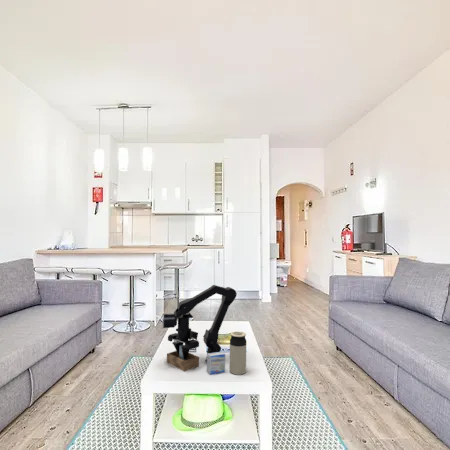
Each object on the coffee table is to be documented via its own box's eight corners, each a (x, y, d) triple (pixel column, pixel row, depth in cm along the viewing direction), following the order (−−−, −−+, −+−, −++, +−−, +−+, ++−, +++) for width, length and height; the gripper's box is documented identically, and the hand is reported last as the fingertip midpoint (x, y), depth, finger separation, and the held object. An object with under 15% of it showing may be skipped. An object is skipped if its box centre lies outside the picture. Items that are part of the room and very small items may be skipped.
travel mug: (231, 375, 146) (232, 336, 147) (227, 368, 154) (228, 331, 154) (248, 374, 148) (248, 335, 148) (243, 367, 155) (243, 330, 156)
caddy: (198, 366, 156) (199, 356, 156) (184, 371, 150) (184, 361, 150) (180, 357, 166) (181, 349, 167) (166, 362, 160) (166, 353, 160)
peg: (187, 362, 158) (187, 345, 159) (181, 364, 156) (182, 347, 156) (183, 360, 161) (183, 344, 161) (177, 361, 158) (177, 345, 158)
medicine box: (209, 375, 146) (210, 356, 147) (206, 371, 150) (206, 353, 151) (225, 372, 149) (225, 354, 150) (221, 368, 153) (221, 350, 154)
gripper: (207, 327, 158) (206, 358, 158) (184, 320, 171) (183, 349, 171) (190, 331, 150) (189, 364, 150) (167, 324, 163) (166, 354, 163)
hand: (182, 357), depth 158 cm, fingers closed on peg, 4 cm apart
